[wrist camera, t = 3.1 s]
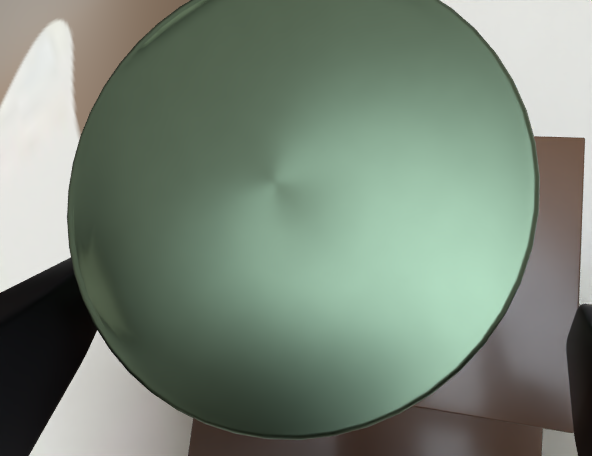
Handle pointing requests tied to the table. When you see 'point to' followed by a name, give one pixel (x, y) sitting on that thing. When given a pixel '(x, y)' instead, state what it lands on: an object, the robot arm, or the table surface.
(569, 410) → the brown stand
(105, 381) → the table surface
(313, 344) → the tea tin
